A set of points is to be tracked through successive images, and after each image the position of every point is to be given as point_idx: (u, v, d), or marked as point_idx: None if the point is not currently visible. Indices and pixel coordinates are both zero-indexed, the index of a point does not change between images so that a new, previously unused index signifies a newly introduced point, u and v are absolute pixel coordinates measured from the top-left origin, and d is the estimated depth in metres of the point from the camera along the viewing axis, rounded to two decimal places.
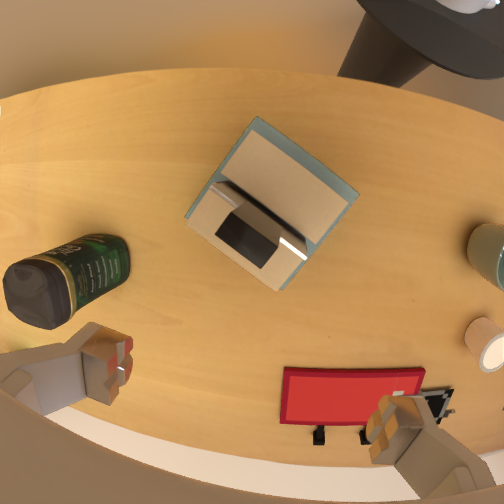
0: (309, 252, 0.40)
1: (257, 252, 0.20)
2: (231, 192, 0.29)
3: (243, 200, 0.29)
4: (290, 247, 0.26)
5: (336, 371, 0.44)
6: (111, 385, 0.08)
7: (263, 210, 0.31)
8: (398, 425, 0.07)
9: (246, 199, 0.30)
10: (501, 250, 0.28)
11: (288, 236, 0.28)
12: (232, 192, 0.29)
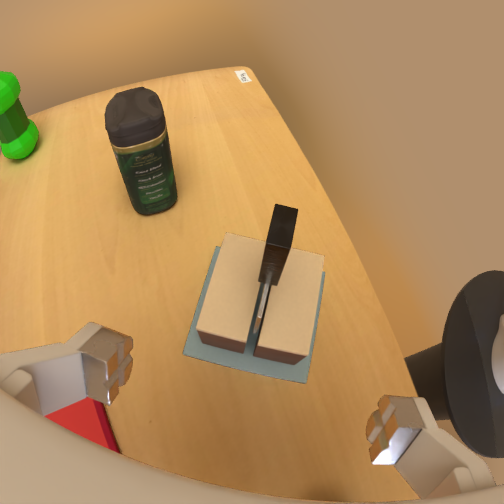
0: (231, 363, 0.38)
1: (278, 235, 0.23)
2: None
3: None
4: (263, 299, 0.28)
5: (115, 444, 0.32)
6: (111, 385, 0.08)
7: None
8: (397, 426, 0.07)
9: None
10: None
11: None
12: None
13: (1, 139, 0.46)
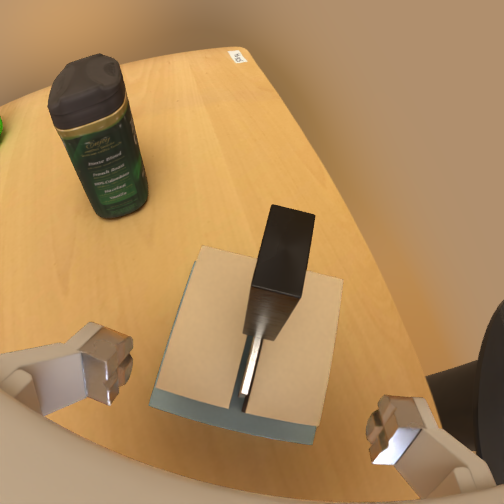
0: (212, 420, 0.27)
1: (276, 270, 0.11)
2: None
3: None
4: (250, 364, 0.16)
5: None
6: (111, 385, 0.08)
7: None
8: (397, 425, 0.07)
9: None
10: None
11: None
12: None
13: None
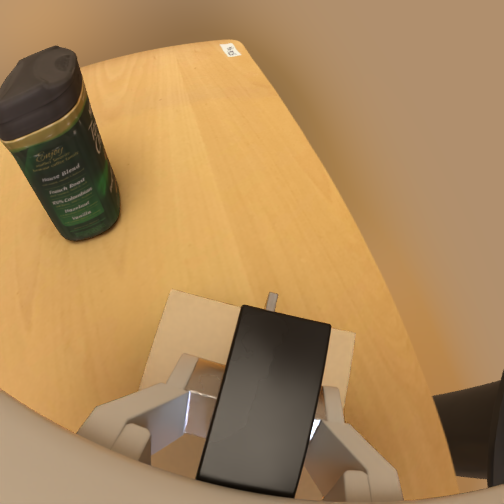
0: None
1: (246, 455, 0.05)
2: None
3: None
4: None
5: None
6: None
7: None
8: None
9: None
10: None
11: None
12: None
13: None
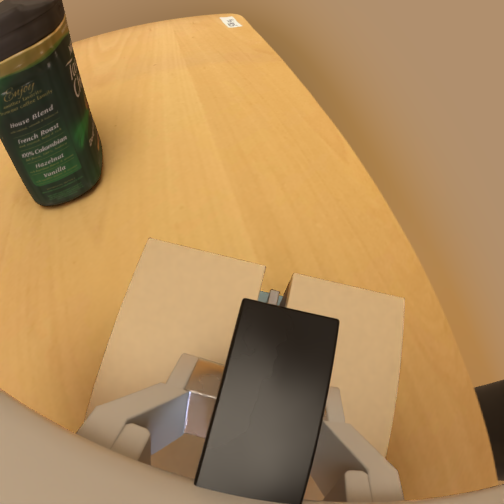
0: None
1: (248, 462, 0.04)
2: None
3: None
4: None
5: None
6: None
7: None
8: None
9: None
10: None
11: None
12: None
13: None
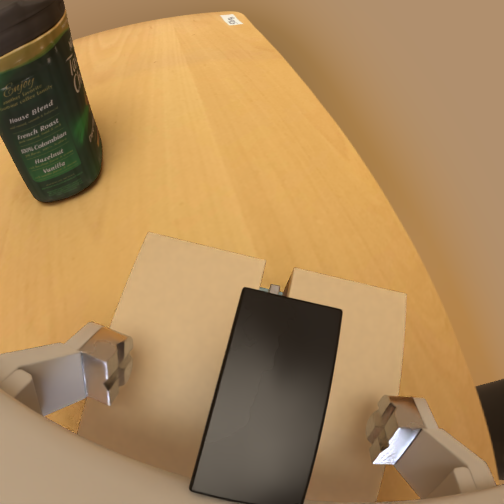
0: None
1: (248, 458, 0.04)
2: None
3: None
4: None
5: None
6: (111, 385, 0.08)
7: None
8: (397, 425, 0.07)
9: None
10: None
11: None
12: None
13: None
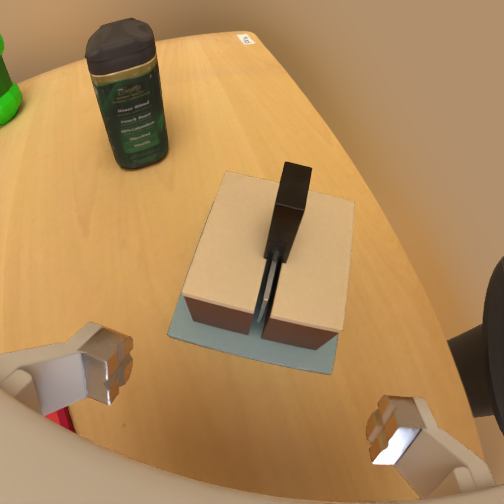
0: (232, 348, 0.29)
1: (289, 195, 0.19)
2: None
3: None
4: (269, 279, 0.24)
5: None
6: (111, 385, 0.08)
7: None
8: (397, 426, 0.07)
9: None
10: None
11: None
12: None
13: None
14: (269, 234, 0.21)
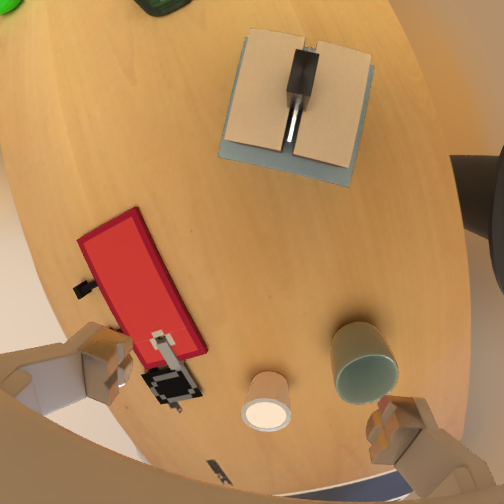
0: (269, 164, 0.37)
1: (298, 83, 0.20)
2: None
3: None
4: (292, 124, 0.28)
5: (159, 260, 0.41)
6: (111, 385, 0.08)
7: None
8: (397, 425, 0.07)
9: None
10: (373, 353, 0.32)
11: None
12: None
13: None
14: (287, 100, 0.24)
